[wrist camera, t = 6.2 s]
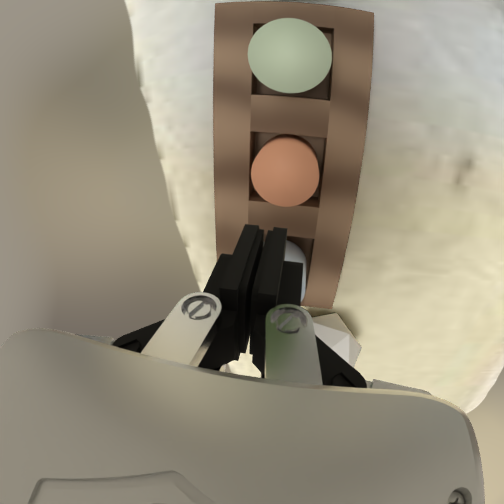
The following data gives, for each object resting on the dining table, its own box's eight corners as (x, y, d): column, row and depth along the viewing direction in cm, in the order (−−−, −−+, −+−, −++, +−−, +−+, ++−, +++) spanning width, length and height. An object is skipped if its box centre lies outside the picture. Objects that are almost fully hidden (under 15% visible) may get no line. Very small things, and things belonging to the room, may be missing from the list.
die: (301, 352, 40) (345, 402, 32) (254, 349, 35) (300, 411, 27) (335, 303, 38) (388, 350, 31) (292, 291, 33) (351, 350, 25)
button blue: (252, 235, 27) (243, 260, 24) (309, 242, 26) (309, 267, 23) (250, 281, 30) (243, 308, 27) (302, 287, 29) (301, 315, 26)
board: (225, 11, 19) (215, 3, 17) (366, 20, 18) (373, 12, 15) (225, 278, 34) (218, 295, 32) (330, 290, 33) (331, 308, 30)
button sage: (258, 27, 17) (248, 17, 14) (328, 32, 17) (333, 21, 13) (256, 89, 20) (246, 91, 17) (325, 95, 20) (329, 97, 16)
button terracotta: (259, 131, 24) (251, 139, 21) (320, 136, 24) (322, 146, 20) (257, 186, 27) (250, 203, 24) (314, 192, 27) (315, 210, 23)
